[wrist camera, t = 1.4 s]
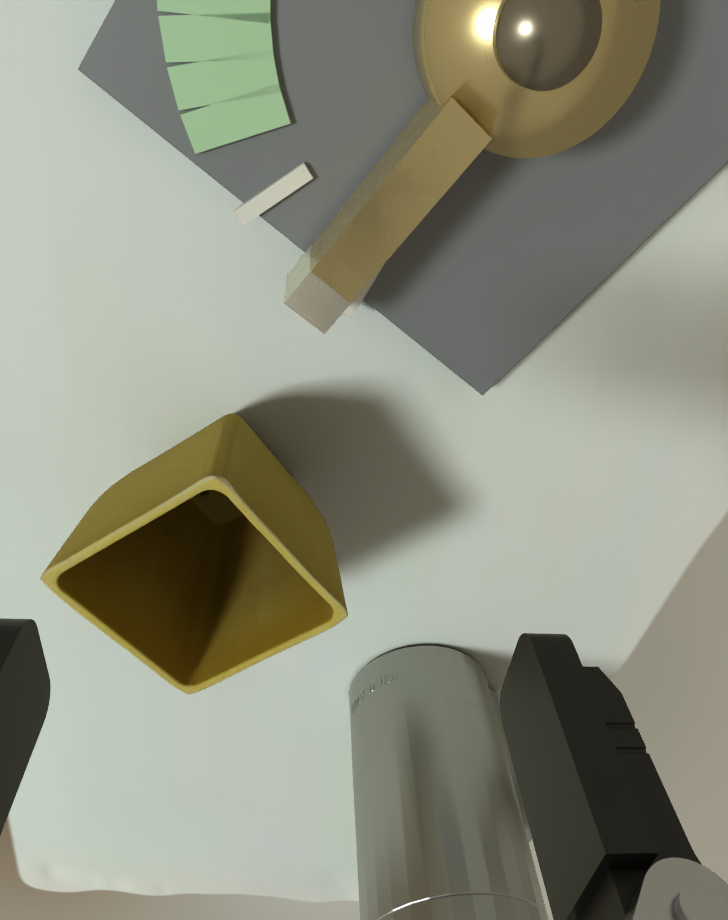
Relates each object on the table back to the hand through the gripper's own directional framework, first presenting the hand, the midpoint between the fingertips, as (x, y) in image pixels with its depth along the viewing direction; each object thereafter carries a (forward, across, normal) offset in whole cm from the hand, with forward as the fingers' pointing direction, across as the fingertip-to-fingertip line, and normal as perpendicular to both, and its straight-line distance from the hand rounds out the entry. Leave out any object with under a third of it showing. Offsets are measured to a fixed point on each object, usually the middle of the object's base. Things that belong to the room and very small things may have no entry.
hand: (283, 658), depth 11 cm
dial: (+19, -4, -6) cm, 20 cm away
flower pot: (+20, +3, +10) cm, 23 cm away
